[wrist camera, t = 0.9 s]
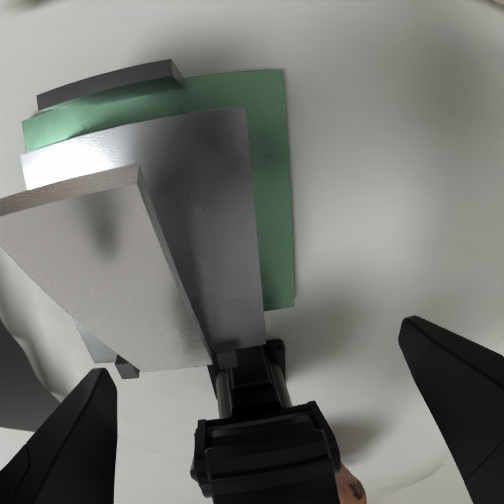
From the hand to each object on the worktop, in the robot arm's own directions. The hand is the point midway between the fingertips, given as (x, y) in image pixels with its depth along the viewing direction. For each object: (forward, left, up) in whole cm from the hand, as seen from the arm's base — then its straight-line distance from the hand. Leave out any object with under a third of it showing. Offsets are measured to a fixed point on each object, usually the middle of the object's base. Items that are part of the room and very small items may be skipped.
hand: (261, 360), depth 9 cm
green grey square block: (0, +4, -13) cm, 14 cm away
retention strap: (0, +4, -3) cm, 5 cm away
